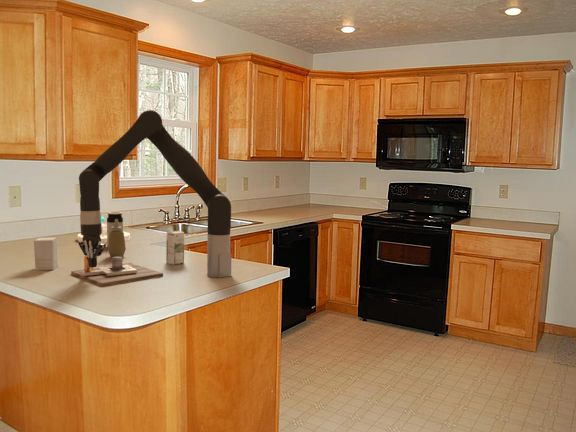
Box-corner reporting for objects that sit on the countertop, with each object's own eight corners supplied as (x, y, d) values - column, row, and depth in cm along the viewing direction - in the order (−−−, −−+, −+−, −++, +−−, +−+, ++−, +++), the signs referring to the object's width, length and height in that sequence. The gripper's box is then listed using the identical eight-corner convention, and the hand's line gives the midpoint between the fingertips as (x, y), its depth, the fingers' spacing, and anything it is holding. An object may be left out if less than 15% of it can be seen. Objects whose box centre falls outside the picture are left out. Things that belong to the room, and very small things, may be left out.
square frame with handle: (126, 267, 217) (126, 250, 217) (137, 272, 208) (137, 255, 207) (79, 272, 206) (79, 254, 205) (88, 278, 197) (87, 259, 196)
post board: (163, 276, 210) (163, 258, 209) (102, 286, 191) (101, 267, 190) (130, 265, 227) (129, 249, 227) (71, 274, 209) (70, 256, 208)
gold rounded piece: (94, 273, 205) (94, 266, 205) (88, 274, 204) (88, 267, 203) (91, 272, 207) (91, 265, 207) (86, 273, 205) (86, 266, 205)
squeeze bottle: (129, 257, 246) (128, 219, 244) (113, 259, 240) (112, 220, 238) (120, 254, 251) (119, 217, 249) (104, 256, 245) (104, 219, 243)
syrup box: (176, 261, 239) (176, 230, 237) (184, 263, 235) (184, 231, 234) (166, 263, 235) (166, 231, 233) (174, 265, 231) (174, 232, 229)
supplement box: (58, 266, 222) (57, 237, 221) (53, 270, 215) (52, 240, 214) (39, 266, 221) (38, 237, 220) (34, 270, 214) (33, 240, 212)
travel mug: (125, 245, 276) (125, 212, 274) (119, 248, 268) (119, 213, 266) (111, 244, 277) (110, 211, 275) (104, 247, 269) (104, 213, 267)
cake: (78, 245, 275) (78, 227, 274) (76, 237, 301) (76, 221, 299) (133, 243, 286) (132, 226, 285) (126, 235, 312) (126, 219, 311)
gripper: (111, 222, 198) (112, 266, 200) (87, 220, 204) (89, 263, 206) (95, 224, 191) (97, 270, 193) (70, 222, 197) (73, 267, 199)
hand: (93, 267), depth 199 cm, fingers closed
